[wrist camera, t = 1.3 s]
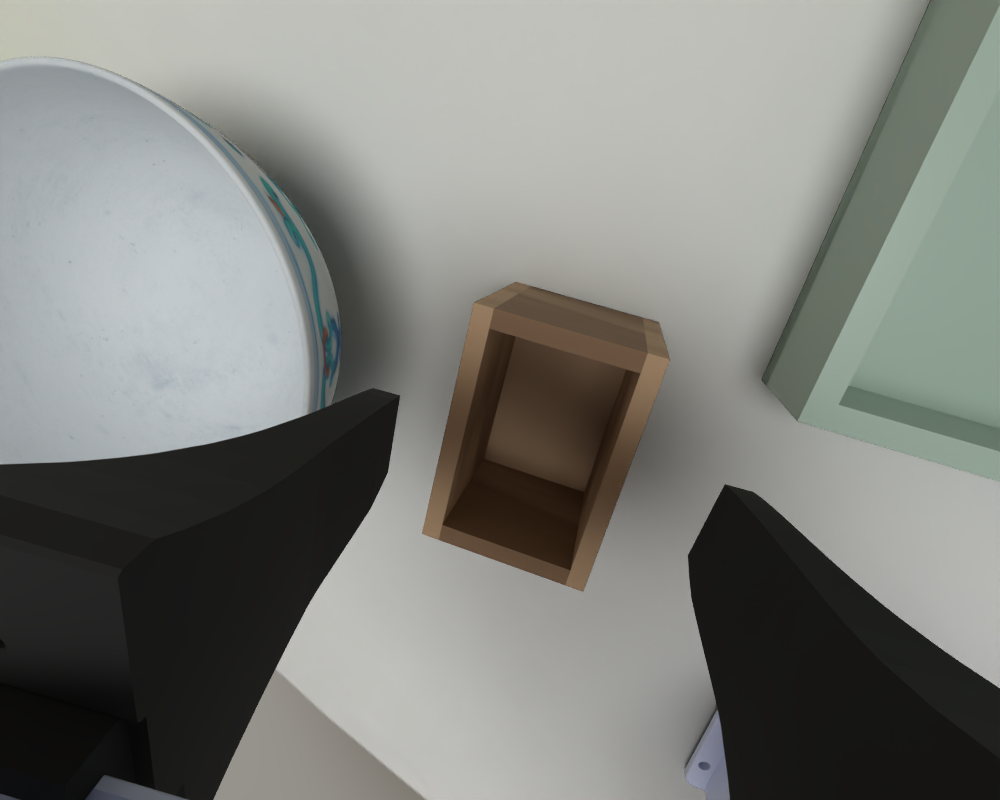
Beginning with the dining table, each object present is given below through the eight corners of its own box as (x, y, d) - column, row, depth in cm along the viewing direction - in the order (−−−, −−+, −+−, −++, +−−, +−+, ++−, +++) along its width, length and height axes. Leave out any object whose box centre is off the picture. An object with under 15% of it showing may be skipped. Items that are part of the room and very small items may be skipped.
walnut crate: (594, 502, 23) (583, 591, 17) (471, 460, 23) (422, 533, 18) (658, 322, 20) (670, 359, 14) (516, 282, 21) (474, 302, 15)
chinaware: (54, 219, 25) (-183, 215, 17) (299, 33, 20) (109, -77, 12) (221, 496, 27) (77, 591, 20) (472, 395, 22) (399, 474, 15)
